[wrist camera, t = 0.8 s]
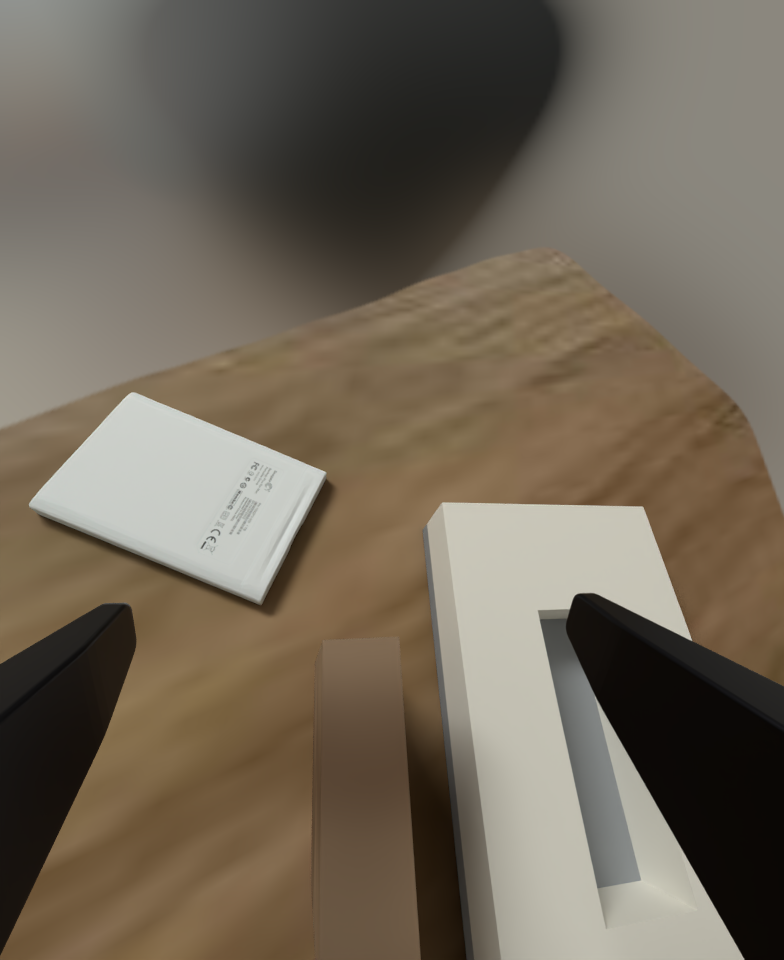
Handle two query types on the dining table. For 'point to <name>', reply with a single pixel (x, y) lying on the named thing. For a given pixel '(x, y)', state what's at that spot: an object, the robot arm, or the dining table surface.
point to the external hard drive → (184, 496)
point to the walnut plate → (361, 806)
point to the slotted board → (553, 742)
